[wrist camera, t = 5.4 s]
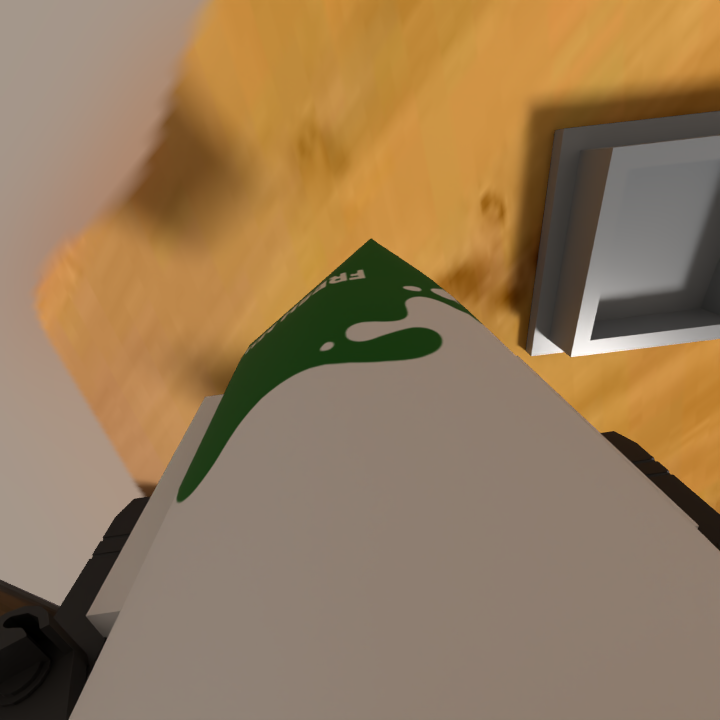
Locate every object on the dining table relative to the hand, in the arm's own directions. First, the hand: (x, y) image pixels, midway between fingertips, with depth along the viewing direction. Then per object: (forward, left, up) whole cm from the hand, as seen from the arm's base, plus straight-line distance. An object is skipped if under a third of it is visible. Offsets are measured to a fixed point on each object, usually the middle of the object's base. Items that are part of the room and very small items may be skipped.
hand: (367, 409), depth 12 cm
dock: (+22, 0, -16) cm, 28 cm away
